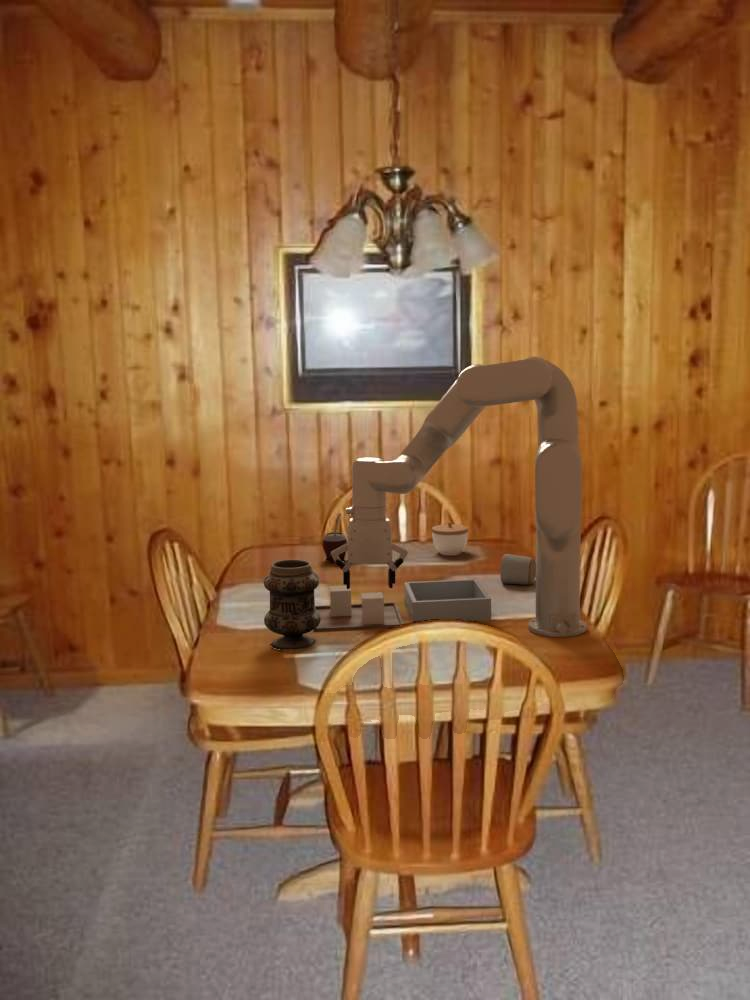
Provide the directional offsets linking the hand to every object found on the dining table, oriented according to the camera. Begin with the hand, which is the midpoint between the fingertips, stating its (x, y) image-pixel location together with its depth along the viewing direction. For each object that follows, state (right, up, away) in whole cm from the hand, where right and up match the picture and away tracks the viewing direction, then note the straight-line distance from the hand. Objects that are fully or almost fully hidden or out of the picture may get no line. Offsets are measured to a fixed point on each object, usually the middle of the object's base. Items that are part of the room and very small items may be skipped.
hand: (369, 587), depth 222 cm
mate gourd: (-10, +2, +62) cm, 63 cm away
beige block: (+1, -8, +1) cm, 8 cm away
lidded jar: (+24, +4, +69) cm, 73 cm away
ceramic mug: (+39, -2, +34) cm, 52 cm away
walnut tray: (-3, -8, +5) cm, 10 cm away
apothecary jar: (-16, -11, -12) cm, 23 cm away
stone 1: (-7, -7, +8) cm, 13 cm away
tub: (+18, -6, +10) cm, 22 cm away
